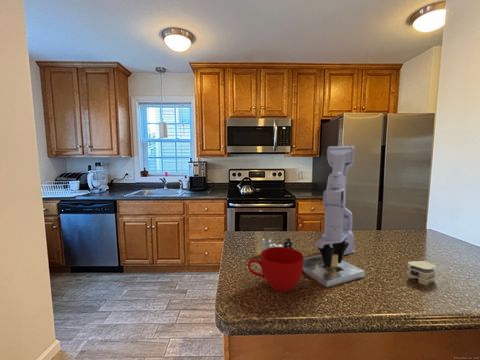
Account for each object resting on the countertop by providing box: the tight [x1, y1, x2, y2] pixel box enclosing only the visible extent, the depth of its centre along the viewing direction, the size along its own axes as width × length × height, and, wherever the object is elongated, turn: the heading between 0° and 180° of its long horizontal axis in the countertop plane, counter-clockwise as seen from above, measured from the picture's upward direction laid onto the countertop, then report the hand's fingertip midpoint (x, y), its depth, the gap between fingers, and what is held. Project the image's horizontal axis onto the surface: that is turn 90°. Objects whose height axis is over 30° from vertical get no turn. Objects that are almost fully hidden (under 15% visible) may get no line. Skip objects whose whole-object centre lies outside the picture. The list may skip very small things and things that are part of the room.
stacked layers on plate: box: [406, 260, 437, 286], centre depth 77 cm, size 10×9×6 cm
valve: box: [260, 238, 293, 252], centre depth 98 cm, size 7×7×12 cm
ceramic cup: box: [247, 247, 304, 293], centre depth 73 cm, size 13×17×10 cm
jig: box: [302, 254, 366, 288], centre depth 81 cm, size 16×12×4 cm
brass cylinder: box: [325, 252, 338, 273], centre depth 82 cm, size 4×4×7 cm
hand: (332, 264), depth 81 cm, fingers open, 5 cm apart
